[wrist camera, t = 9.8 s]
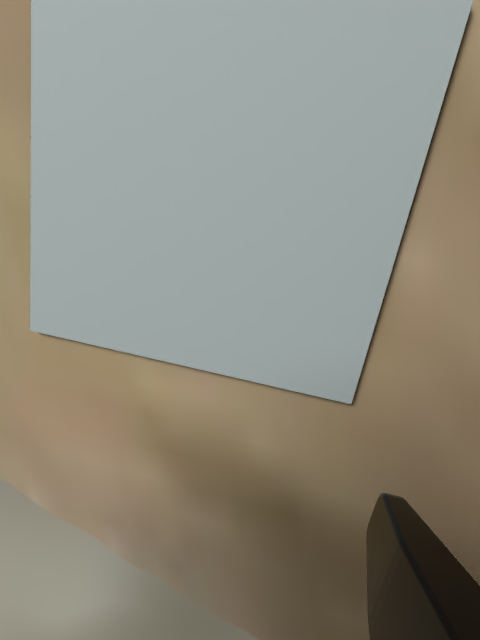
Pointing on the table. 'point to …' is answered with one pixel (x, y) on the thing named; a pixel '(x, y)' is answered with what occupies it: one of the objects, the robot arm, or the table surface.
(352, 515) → the table surface
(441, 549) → the robot arm
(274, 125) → the mat
